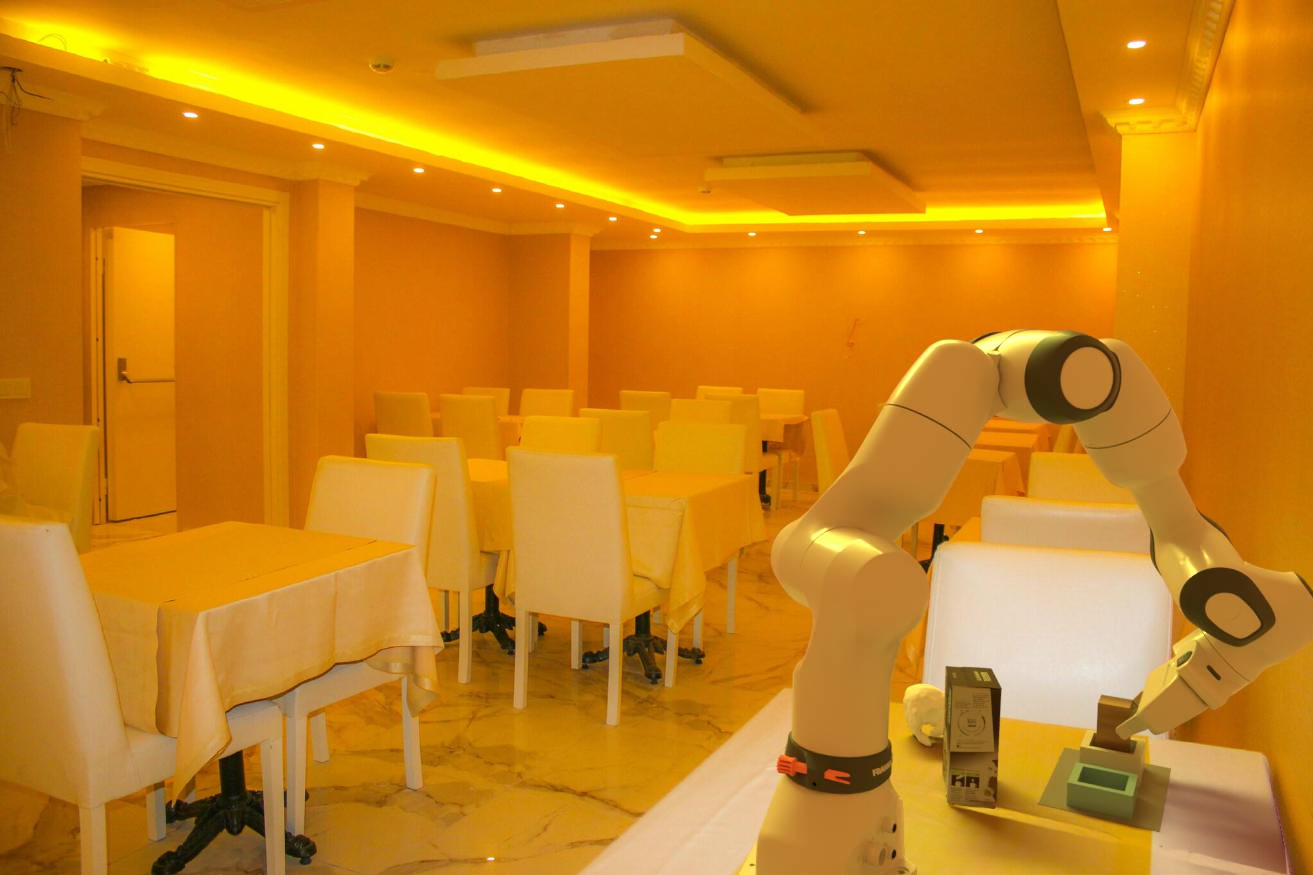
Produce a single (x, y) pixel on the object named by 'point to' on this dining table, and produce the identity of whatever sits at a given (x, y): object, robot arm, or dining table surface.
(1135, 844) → the dining table surface
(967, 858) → the dining table surface
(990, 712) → the coffee box
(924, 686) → the white lumpy rounded piece
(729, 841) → the dining table surface
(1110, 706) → the plug
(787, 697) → the dining table surface
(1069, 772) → the caddy
